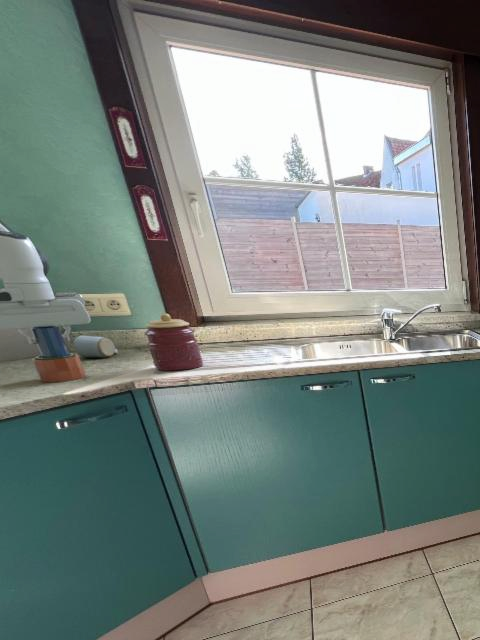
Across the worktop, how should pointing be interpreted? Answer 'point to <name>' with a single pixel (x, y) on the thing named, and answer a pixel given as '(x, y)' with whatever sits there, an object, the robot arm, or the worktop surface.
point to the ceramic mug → (94, 347)
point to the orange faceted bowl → (59, 368)
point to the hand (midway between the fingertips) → (50, 342)
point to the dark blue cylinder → (50, 341)
